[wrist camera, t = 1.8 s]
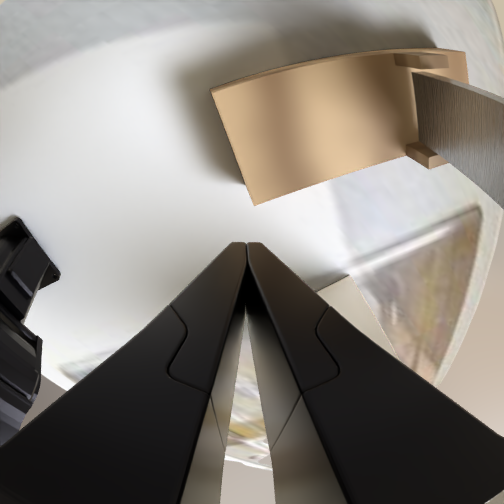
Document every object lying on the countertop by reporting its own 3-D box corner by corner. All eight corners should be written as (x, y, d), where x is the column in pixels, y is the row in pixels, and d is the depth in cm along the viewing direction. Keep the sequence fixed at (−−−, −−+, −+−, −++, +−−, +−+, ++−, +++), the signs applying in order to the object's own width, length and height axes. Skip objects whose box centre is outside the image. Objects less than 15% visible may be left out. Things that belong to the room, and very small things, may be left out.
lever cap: (418, 140, 15) (527, 234, 7) (411, 72, 12) (548, 127, 4) (439, 137, 15) (547, 224, 7) (433, 70, 12) (566, 126, 4)
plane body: (245, 185, 19) (262, 227, 15) (209, 89, 15) (214, 98, 11) (446, 126, 18) (492, 149, 14) (438, 48, 14) (489, 57, 10)
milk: (311, 330, 31) (378, 517, 14) (294, 301, 27) (374, 530, 10) (360, 306, 30) (444, 486, 13) (351, 272, 26) (459, 490, 9)
